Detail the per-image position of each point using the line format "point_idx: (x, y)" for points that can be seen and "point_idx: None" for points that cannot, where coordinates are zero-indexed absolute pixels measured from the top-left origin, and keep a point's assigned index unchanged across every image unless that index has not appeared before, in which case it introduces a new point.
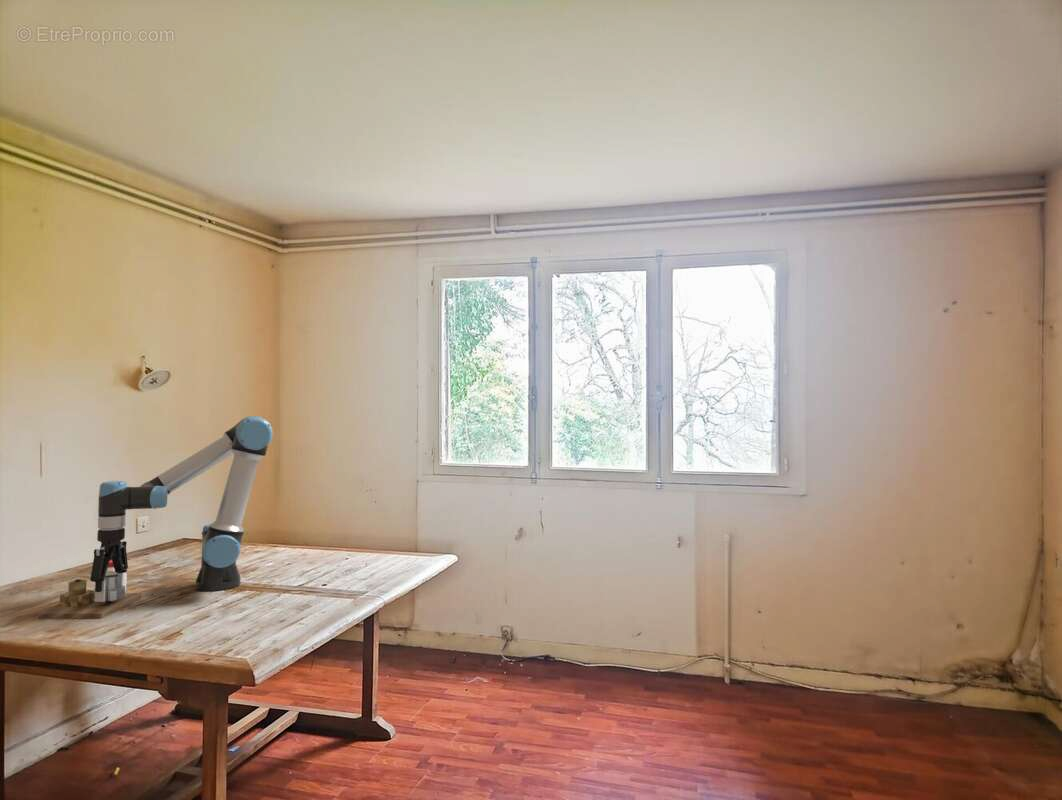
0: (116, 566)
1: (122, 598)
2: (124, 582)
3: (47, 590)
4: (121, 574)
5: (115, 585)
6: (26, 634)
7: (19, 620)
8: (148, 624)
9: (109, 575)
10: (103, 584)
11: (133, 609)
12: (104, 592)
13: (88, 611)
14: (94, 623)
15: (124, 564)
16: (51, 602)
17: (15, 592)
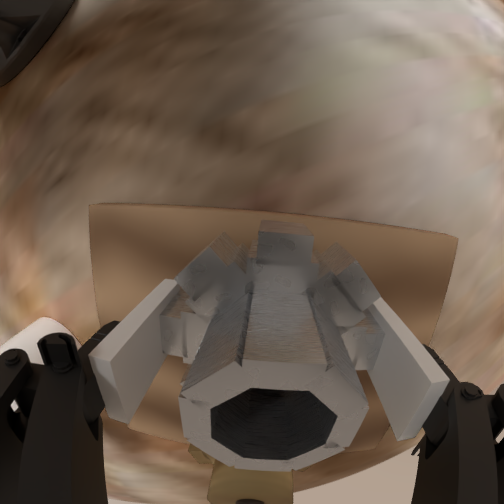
0: (95, 466)
1: (184, 262)
2: (28, 336)
3: (107, 472)
4: (115, 359)
5: (306, 309)
6: (498, 367)
7: (371, 457)
8: (486, 44)
9: (219, 441)
10: (433, 366)
11: (326, 133)
12: (397, 324)
13: (416, 318)
14: (489, 231)
15: (8, 401)
16: (194, 466)
17: (135, 498)
